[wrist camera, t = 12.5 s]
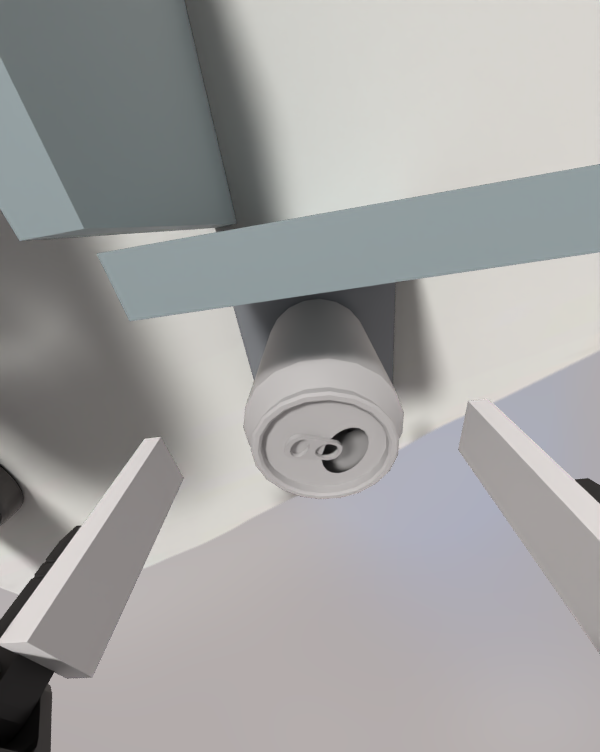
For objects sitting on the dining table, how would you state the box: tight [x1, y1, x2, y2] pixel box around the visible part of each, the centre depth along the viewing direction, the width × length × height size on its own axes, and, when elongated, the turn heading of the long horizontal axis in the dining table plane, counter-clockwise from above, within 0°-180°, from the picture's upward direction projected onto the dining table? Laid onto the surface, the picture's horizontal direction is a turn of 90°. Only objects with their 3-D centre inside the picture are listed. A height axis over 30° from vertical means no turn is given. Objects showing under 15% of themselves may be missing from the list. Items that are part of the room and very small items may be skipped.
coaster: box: [233, 282, 395, 385], centre depth 22 cm, size 12×12×1 cm
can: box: [243, 299, 404, 499], centre depth 16 cm, size 8×8×12 cm
